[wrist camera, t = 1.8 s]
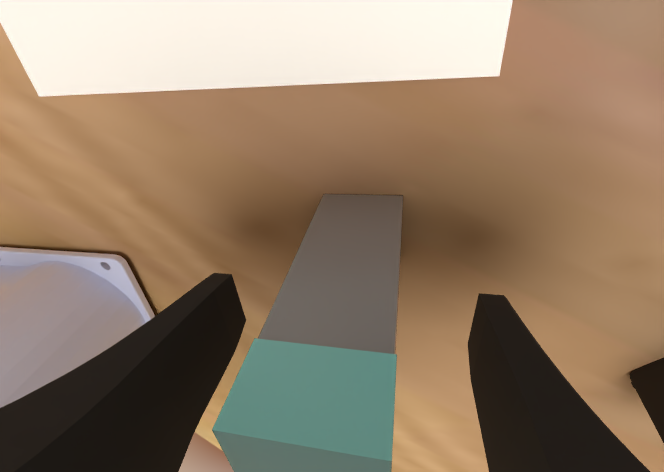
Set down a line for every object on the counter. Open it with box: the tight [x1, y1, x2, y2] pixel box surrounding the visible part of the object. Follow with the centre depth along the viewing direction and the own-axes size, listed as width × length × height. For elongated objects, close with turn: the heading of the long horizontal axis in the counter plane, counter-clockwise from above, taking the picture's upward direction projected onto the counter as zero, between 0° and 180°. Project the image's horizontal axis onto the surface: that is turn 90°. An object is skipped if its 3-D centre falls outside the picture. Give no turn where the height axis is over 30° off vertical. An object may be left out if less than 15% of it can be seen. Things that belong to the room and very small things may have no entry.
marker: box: [212, 194, 403, 472], centre depth 10 cm, size 3×3×9 cm
